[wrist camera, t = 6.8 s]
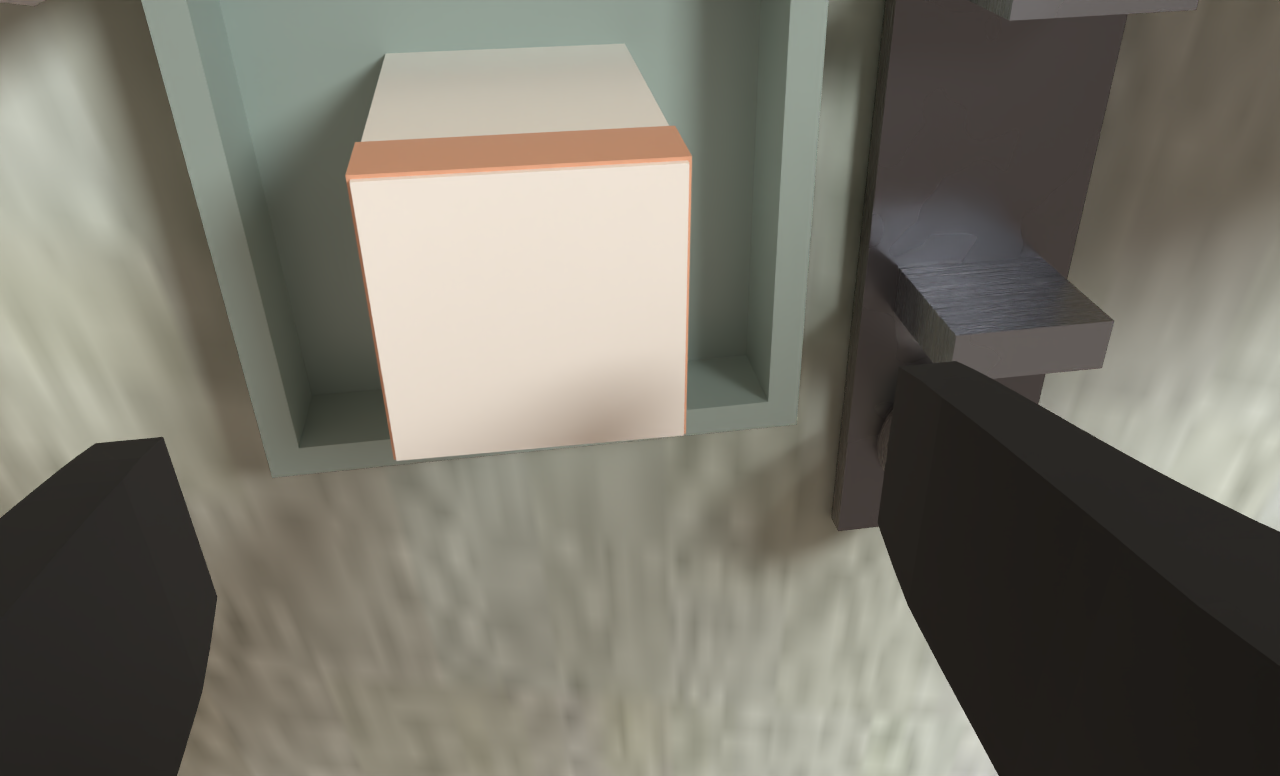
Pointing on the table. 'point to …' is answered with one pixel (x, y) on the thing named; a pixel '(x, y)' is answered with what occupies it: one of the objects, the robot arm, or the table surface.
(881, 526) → the robot arm
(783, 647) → the table surface
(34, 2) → the caliper
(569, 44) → the tray
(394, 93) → the beige and orange block
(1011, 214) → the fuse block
